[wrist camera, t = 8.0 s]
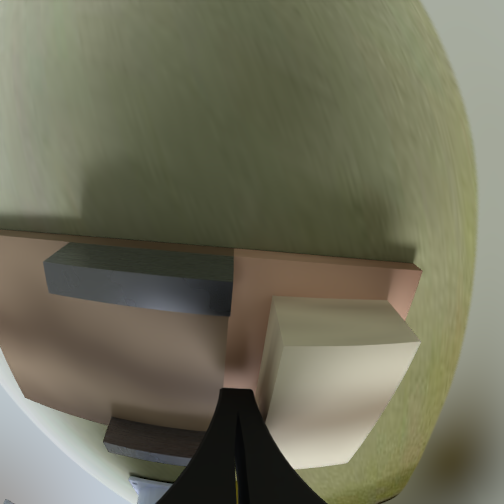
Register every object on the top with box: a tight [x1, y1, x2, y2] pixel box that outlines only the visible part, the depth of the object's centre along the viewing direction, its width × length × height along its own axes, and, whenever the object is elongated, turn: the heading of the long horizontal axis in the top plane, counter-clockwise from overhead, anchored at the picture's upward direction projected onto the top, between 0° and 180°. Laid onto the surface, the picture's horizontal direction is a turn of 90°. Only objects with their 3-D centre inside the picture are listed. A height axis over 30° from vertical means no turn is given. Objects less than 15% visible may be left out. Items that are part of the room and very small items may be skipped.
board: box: [0, 229, 422, 431], centre depth 12 cm, size 12×22×1 cm, turn 84°
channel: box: [43, 242, 234, 466], centre depth 11 cm, size 12×6×2 cm, turn 174°
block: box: [255, 296, 421, 469], centre depth 11 cm, size 8×5×3 cm, turn 174°
